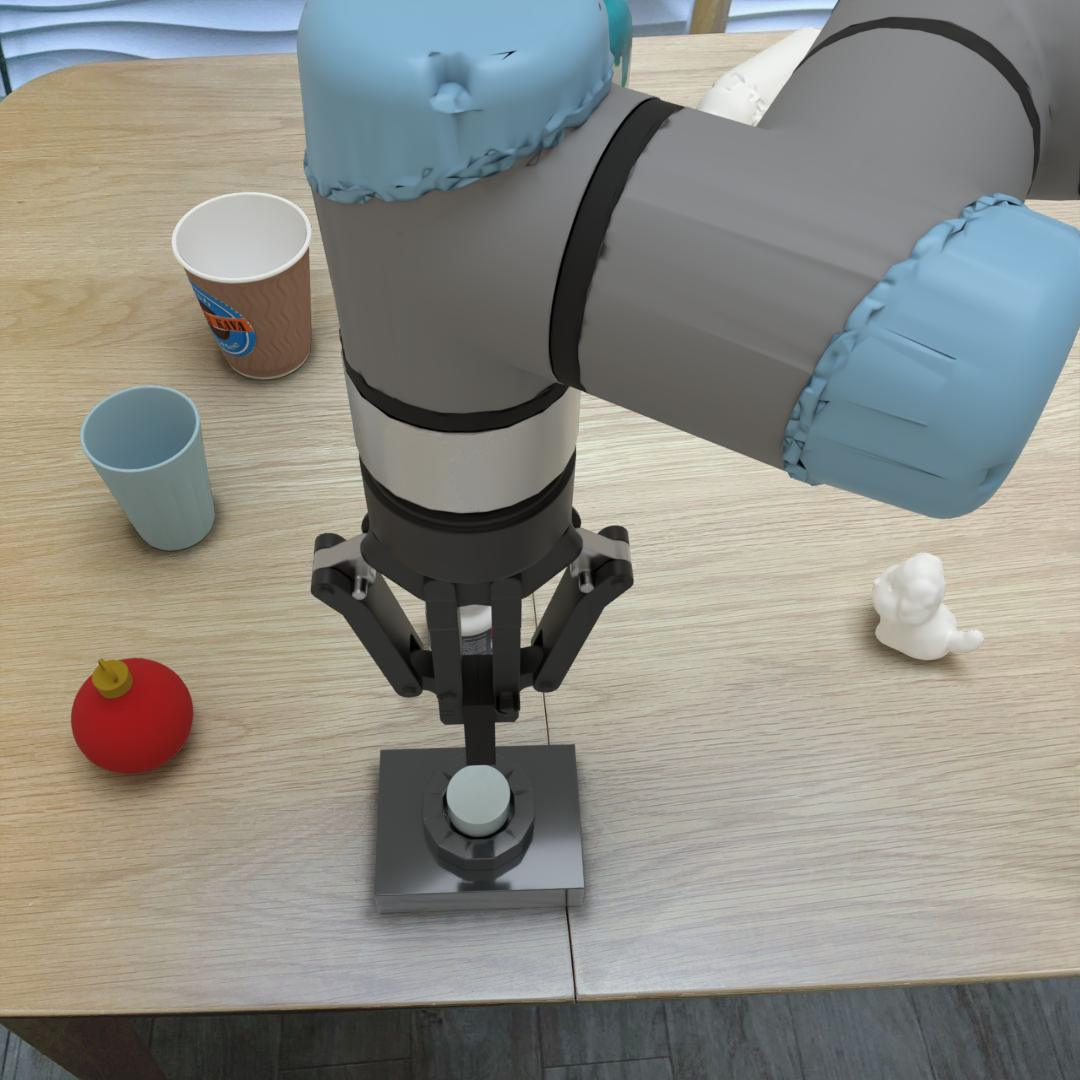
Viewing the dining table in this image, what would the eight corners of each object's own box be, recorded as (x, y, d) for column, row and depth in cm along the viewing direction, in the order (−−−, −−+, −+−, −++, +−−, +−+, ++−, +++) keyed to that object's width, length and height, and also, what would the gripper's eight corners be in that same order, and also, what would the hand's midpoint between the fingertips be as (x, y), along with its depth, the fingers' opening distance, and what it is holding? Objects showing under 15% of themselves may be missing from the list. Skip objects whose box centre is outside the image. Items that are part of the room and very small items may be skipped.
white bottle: (658, 158, 109) (667, 84, 102) (775, 86, 117) (791, 13, 110) (719, 195, 106) (733, 121, 99) (836, 118, 114) (855, 45, 107)
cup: (251, 502, 82) (222, 407, 73) (190, 579, 78) (152, 487, 69) (167, 467, 84) (129, 370, 75) (103, 540, 79) (55, 447, 71)
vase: (518, 114, 112) (522, -81, 97) (621, 119, 112) (641, -75, 97) (512, 177, 106) (515, -21, 91) (621, 183, 106) (643, -14, 91)
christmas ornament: (226, 739, 71) (191, 662, 62) (133, 815, 67) (84, 744, 59) (161, 672, 73) (119, 590, 65) (68, 741, 70) (12, 664, 62)
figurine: (861, 589, 79) (894, 522, 73) (971, 624, 78) (1015, 559, 71) (847, 649, 76) (879, 585, 70) (961, 686, 75) (1005, 625, 68)
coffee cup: (180, 348, 91) (142, 231, 81) (280, 291, 95) (256, 174, 86) (255, 415, 87) (225, 300, 77) (356, 352, 91) (339, 236, 82)
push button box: (572, 765, 70) (576, 730, 66) (581, 905, 65) (587, 877, 61) (384, 770, 70) (377, 736, 66) (378, 913, 64) (370, 885, 60)
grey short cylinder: (508, 777, 65) (509, 762, 63) (510, 836, 63) (510, 822, 61) (447, 779, 65) (446, 764, 63) (447, 838, 62) (446, 824, 61)
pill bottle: (504, 681, 74) (505, 611, 66) (426, 680, 74) (419, 610, 66) (505, 614, 77) (506, 540, 70) (430, 613, 77) (423, 539, 69)
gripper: (645, 354, 40) (600, 673, 59) (284, 360, 39) (357, 680, 58) (669, 518, 35) (613, 805, 54) (263, 528, 35) (349, 815, 54)
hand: (480, 740), depth 56 cm, fingers closed
